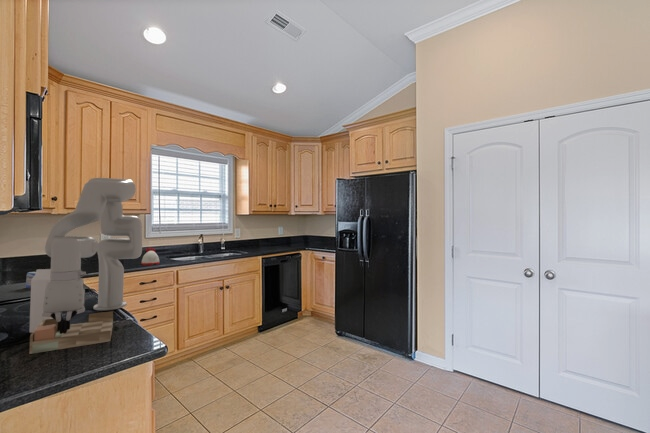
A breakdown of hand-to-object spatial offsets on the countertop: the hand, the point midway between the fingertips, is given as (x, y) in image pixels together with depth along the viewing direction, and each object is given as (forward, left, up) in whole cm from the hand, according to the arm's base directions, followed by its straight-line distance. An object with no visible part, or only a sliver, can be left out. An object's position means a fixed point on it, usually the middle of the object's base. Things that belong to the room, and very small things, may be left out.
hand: (63, 332), depth 100 cm
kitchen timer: (-182, +34, -4) cm, 185 cm away
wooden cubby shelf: (-4, +3, -4) cm, 6 cm away
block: (+1, -4, -1) cm, 5 cm away
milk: (-20, -8, -4) cm, 22 cm away
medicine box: (-106, -27, -4) cm, 110 cm away
